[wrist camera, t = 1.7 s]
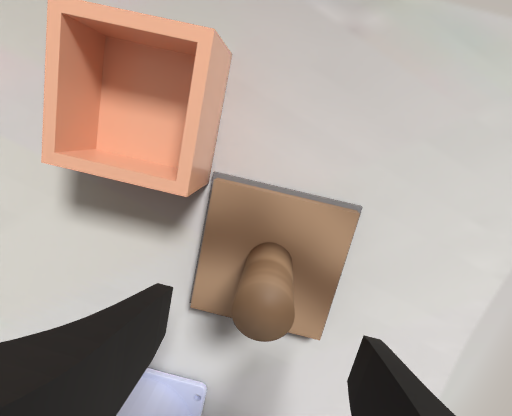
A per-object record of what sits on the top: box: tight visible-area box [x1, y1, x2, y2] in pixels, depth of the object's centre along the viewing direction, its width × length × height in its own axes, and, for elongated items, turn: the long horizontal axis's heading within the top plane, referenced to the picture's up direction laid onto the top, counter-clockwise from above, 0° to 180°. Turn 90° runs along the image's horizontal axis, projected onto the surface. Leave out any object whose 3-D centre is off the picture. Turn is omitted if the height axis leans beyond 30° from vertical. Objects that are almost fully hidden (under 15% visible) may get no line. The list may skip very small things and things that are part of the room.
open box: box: [41, 0, 232, 197], centre depth 15 cm, size 7×7×4 cm
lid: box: [190, 178, 360, 342], centre depth 15 cm, size 8×8×6 cm
